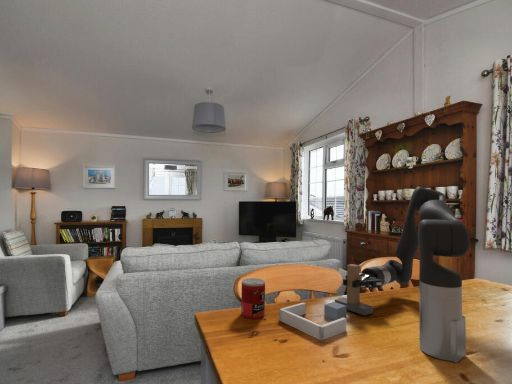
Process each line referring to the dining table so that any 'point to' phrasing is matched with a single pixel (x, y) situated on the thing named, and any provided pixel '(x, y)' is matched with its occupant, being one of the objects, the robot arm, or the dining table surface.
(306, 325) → the box
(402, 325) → the dining table surface
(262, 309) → the canned food
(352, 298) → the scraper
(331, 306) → the ceramic block
